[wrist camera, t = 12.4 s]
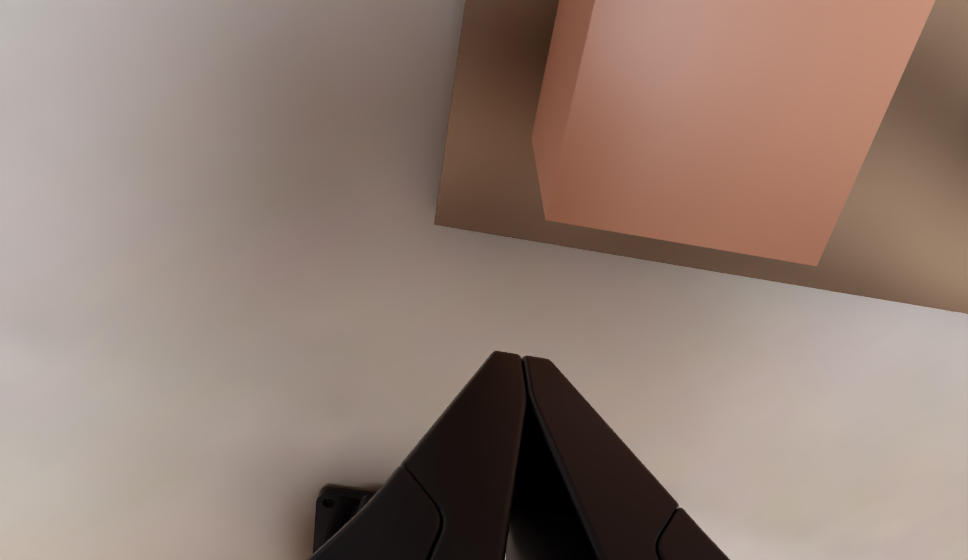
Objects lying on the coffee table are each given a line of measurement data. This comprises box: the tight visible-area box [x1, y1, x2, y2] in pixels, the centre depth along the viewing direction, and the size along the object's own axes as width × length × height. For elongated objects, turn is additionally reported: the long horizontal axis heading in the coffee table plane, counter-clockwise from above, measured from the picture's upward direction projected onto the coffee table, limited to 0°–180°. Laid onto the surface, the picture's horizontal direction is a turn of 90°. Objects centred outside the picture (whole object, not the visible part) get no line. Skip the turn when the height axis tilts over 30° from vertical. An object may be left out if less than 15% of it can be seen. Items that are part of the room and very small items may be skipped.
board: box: [434, 0, 968, 314], centre depth 18 cm, size 12×22×1 cm, turn 80°
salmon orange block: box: [531, 0, 935, 266], centre depth 13 cm, size 5×5×7 cm
